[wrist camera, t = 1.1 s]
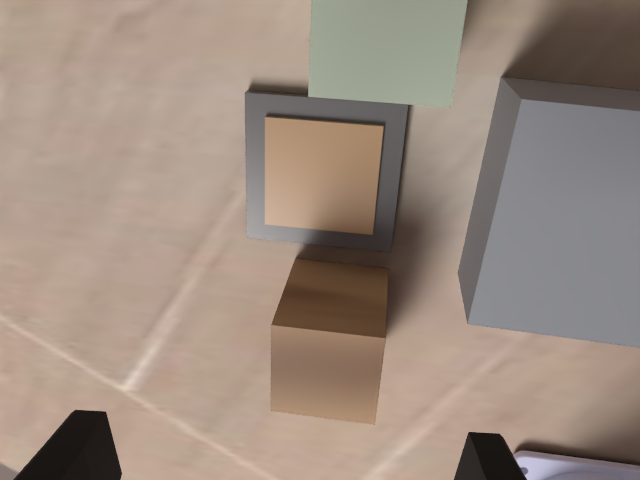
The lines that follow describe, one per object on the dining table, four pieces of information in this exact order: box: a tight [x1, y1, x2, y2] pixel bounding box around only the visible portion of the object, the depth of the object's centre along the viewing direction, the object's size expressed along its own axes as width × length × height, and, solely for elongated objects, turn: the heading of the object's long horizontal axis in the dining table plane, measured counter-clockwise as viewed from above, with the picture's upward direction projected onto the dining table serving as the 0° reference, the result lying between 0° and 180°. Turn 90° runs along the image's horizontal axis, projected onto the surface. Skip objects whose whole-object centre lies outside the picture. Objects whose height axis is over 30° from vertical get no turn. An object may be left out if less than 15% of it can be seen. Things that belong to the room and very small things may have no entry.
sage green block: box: [308, 0, 468, 108], centre depth 17 cm, size 4×4×5 cm
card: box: [245, 90, 408, 252], centre depth 21 cm, size 6×6×1 cm
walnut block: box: [271, 259, 388, 425], centre depth 22 cm, size 4×4×5 cm
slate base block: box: [458, 77, 640, 348], centre depth 19 cm, size 8×8×4 cm
